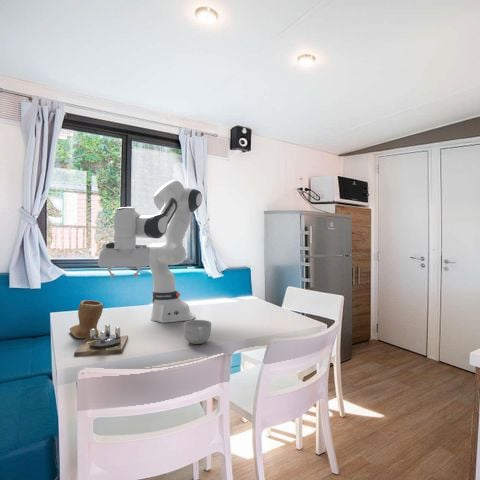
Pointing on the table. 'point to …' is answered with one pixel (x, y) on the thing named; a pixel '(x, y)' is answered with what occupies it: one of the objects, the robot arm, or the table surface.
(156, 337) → the table surface
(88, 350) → the stand board
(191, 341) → the teacup
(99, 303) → the tan boot
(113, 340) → the grey pegged disc
